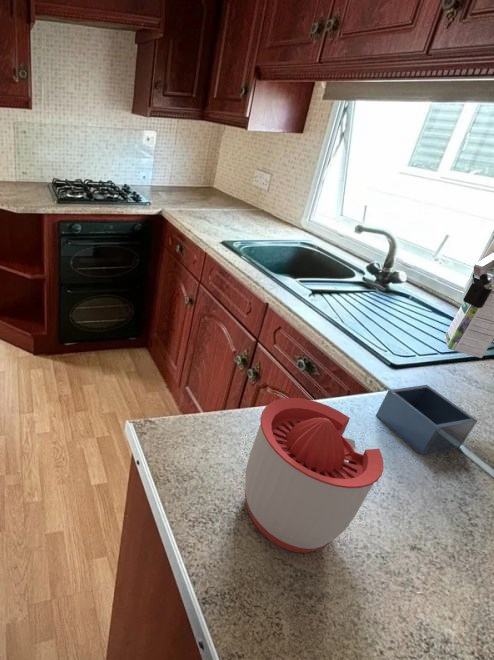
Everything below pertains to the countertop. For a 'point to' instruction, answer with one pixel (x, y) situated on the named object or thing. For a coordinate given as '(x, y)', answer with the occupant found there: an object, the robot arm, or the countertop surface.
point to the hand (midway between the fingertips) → (488, 303)
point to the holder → (425, 419)
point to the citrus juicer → (306, 474)
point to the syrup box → (472, 328)
